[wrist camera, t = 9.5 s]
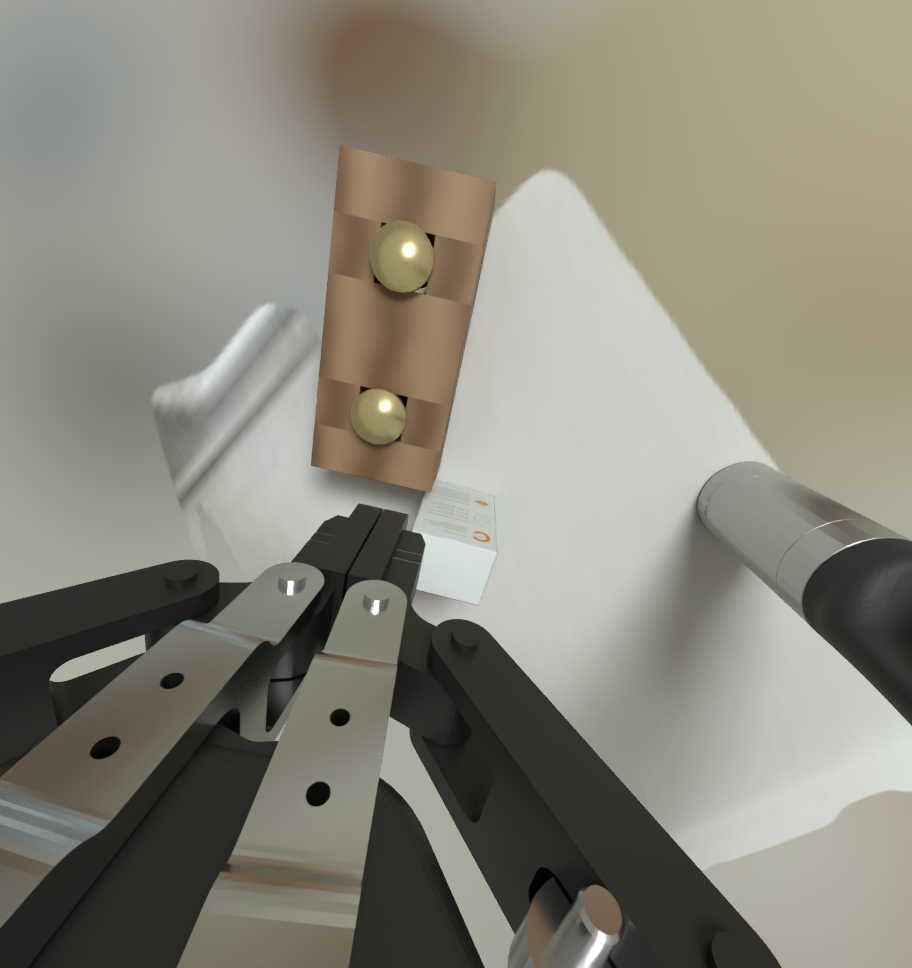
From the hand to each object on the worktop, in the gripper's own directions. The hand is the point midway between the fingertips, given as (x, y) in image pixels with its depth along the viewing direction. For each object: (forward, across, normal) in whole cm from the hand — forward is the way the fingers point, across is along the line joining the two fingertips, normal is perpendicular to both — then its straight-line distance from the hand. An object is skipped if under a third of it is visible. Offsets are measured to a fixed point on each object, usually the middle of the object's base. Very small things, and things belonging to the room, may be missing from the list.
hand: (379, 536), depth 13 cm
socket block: (+35, +6, -3) cm, 35 cm away
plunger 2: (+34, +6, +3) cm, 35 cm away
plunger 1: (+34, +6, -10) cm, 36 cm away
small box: (+35, -3, +15) cm, 38 cm away
